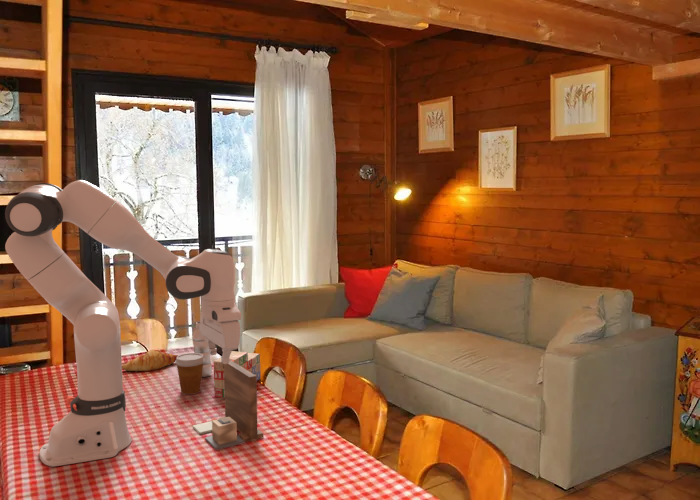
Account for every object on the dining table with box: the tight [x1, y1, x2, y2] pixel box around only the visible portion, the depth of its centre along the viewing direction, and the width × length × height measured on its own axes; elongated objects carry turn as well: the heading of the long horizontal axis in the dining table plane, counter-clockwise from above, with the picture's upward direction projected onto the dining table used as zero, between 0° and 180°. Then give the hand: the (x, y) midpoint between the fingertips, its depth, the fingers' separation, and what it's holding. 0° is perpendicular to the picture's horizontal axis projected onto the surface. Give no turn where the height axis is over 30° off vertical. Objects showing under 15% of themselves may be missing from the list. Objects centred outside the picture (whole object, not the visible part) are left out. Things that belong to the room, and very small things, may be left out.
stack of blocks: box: [213, 350, 261, 399], centre depth 212 cm, size 21×6×12 cm, turn 161°
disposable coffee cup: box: [174, 352, 204, 395], centre depth 208 cm, size 10×10×12 cm
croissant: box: [122, 349, 179, 372], centre depth 235 cm, size 21×10×8 cm
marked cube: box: [211, 416, 238, 444], centre depth 169 cm, size 5×5×5 cm
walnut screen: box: [219, 360, 264, 443], centre depth 176 cm, size 6×18×18 cm, turn 34°
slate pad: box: [204, 434, 245, 451], centre depth 169 cm, size 8×8×1 cm
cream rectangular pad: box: [192, 420, 212, 435], centre depth 178 cm, size 8×6×1 cm
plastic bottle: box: [191, 320, 213, 378], centre depth 223 cm, size 6×7×20 cm
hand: (218, 358), depth 169 cm, fingers open, 8 cm apart
